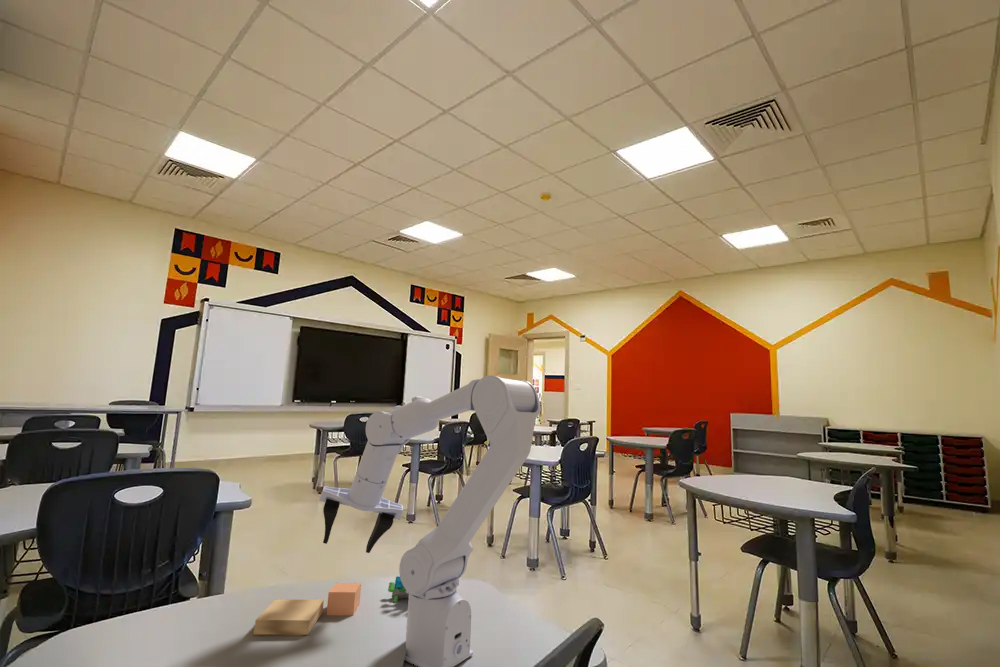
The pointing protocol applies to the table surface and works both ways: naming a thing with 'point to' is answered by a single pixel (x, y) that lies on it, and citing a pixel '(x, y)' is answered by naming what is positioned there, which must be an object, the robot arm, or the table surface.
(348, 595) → the block
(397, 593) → the gear
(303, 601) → the tower top
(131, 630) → the table surface
